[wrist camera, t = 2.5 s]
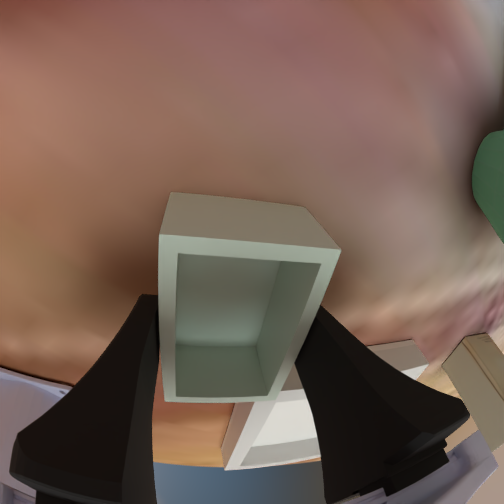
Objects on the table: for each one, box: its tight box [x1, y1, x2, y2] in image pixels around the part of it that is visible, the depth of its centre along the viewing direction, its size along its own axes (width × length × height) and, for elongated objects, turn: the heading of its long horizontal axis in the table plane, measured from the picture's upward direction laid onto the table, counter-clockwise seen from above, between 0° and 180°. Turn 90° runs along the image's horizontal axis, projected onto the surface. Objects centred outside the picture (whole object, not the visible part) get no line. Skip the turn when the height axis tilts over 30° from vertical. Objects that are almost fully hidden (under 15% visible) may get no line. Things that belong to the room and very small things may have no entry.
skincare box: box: [442, 333, 504, 452], centre depth 17 cm, size 6×4×12 cm
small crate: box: [158, 192, 341, 403], centre depth 11 cm, size 5×8×4 cm, turn 170°
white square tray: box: [221, 340, 429, 470], centre depth 19 cm, size 12×15×2 cm
